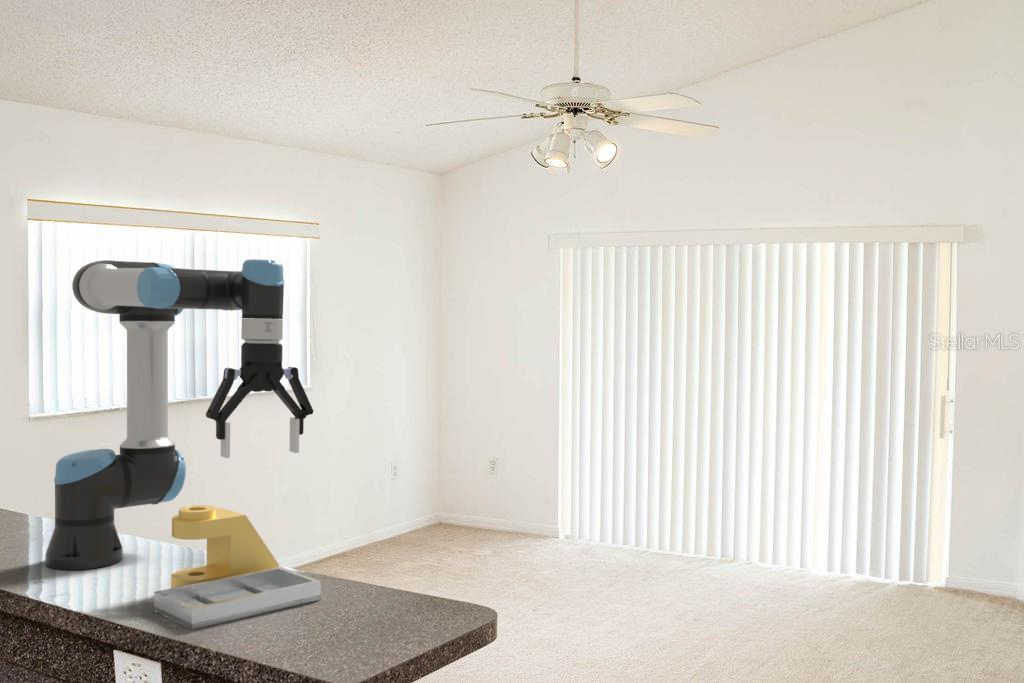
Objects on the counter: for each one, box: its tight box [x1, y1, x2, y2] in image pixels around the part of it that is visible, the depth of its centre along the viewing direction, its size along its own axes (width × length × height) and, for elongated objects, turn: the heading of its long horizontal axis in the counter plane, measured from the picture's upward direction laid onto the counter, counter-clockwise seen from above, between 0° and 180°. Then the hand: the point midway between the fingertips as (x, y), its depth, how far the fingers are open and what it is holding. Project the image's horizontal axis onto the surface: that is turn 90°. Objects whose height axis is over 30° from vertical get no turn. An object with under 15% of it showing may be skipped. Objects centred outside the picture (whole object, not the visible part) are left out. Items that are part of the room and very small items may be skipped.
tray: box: [153, 566, 322, 631], centre depth 176 cm, size 14×26×4 cm, turn 136°
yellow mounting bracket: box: [170, 504, 280, 589], centre depth 189 cm, size 20×9×16 cm, turn 136°
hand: (260, 454), depth 181 cm, fingers open, 13 cm apart
